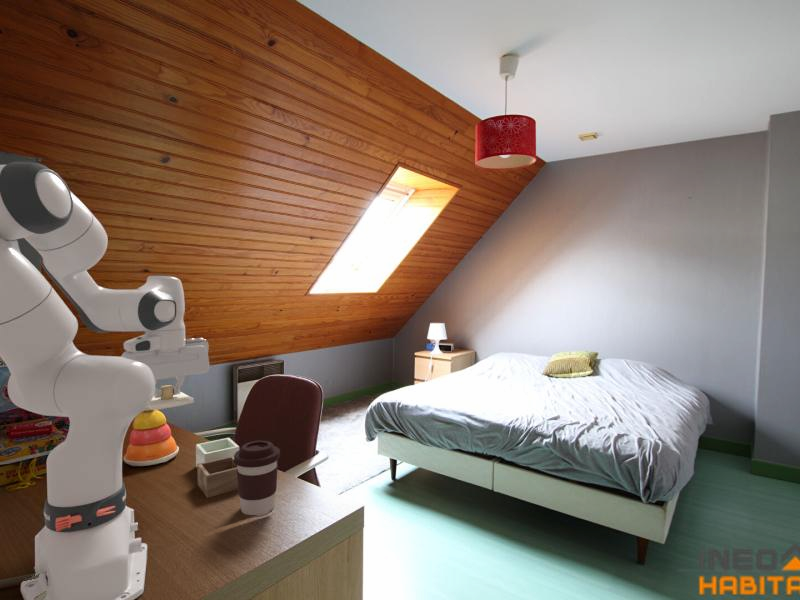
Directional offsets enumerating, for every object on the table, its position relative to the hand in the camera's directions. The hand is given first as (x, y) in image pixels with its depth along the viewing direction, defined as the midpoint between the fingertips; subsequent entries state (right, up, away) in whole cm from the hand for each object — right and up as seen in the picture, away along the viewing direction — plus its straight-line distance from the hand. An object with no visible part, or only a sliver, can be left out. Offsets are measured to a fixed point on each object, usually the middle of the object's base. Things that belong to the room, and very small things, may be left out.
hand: (167, 395), depth 112 cm
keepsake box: (+13, -24, +1) cm, 27 cm away
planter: (+8, -23, +12) cm, 27 cm away
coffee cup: (+26, -24, -9) cm, 37 cm away
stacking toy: (-15, -23, +20) cm, 34 cm away
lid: (0, -2, 0) cm, 2 cm away
